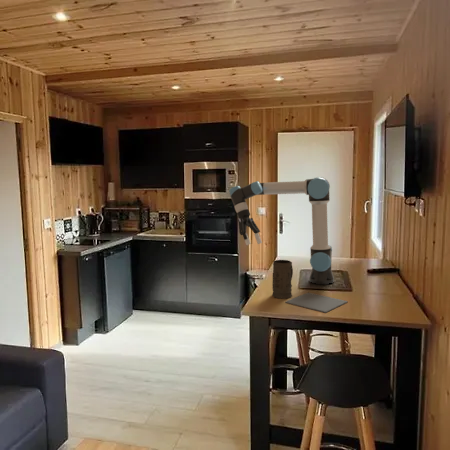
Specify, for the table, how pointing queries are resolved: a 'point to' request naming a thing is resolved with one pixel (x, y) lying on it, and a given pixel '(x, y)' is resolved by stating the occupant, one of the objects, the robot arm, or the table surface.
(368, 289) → the table surface
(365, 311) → the table surface
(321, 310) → the mat
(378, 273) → the table surface
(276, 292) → the beer stein
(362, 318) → the table surface
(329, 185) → the robot arm
